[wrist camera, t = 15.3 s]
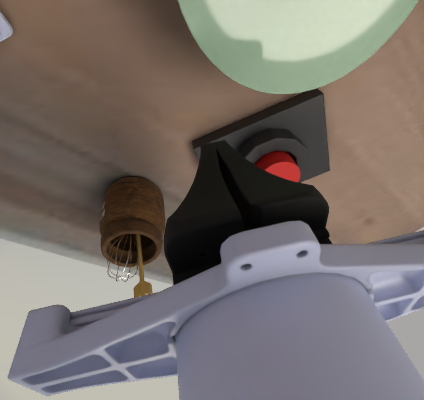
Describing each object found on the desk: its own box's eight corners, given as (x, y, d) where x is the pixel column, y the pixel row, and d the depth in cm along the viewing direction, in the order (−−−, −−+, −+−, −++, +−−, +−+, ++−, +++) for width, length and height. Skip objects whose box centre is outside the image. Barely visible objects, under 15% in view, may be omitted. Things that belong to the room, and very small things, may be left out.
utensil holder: (151, 166, 27) (154, 272, 18) (171, 210, 31) (181, 313, 22) (93, 183, 27) (67, 296, 18) (120, 224, 31) (110, 332, 22)
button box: (222, 203, 32) (228, 223, 29) (191, 141, 26) (196, 160, 23) (323, 163, 30) (338, 181, 28) (316, 87, 24) (334, 102, 22)
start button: (257, 191, 28) (262, 203, 26) (246, 161, 25) (252, 173, 24) (295, 176, 27) (303, 187, 26) (289, 144, 24) (297, 154, 23)
